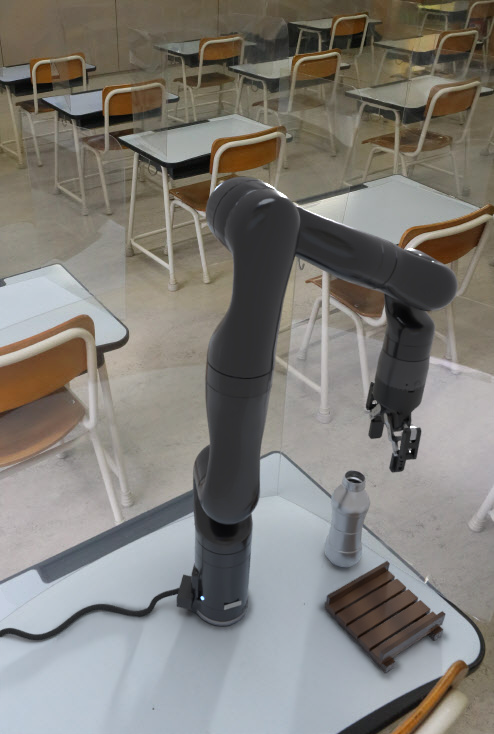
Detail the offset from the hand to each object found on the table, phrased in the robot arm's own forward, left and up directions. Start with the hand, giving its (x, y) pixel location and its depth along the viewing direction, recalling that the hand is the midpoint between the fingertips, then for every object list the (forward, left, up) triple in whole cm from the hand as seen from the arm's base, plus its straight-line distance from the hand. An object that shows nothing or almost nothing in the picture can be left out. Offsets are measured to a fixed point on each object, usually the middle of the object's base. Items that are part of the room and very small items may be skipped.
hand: (385, 453), depth 116 cm
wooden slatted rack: (+3, -14, -24) cm, 28 cm away
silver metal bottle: (-4, -2, -25) cm, 25 cm away
